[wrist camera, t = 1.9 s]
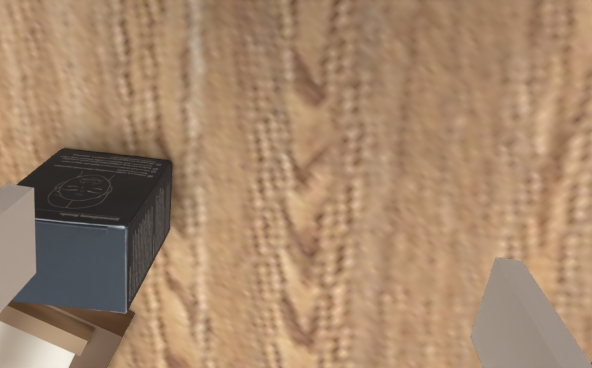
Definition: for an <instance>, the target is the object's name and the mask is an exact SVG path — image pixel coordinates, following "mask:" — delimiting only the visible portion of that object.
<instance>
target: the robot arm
mask: <svg viewBox="0 0 592 368" xmlns="http://www.w3.org/2000/svg"><path fill="white" fill-rule="evenodd" d="M35 274H36V246H35V208H34V188H32V187H25V186H19V185H12V184H5V185H4V186H3V187H1V188H0V312H1V311H2V310H3V309H4V308H5V307H6V306H7V305H8V304H9V302H10V301H11V300H12V299H13V298H14V297H15V296H16V295H17V294H18V292H19V291H20V290H21V289H22V288H23V287H24V286H25V285H26V284H27V282H28V281H29V280H30V279H31V278H32V277H33V276H34V275H35ZM470 337H471V339H472V342H473V344H474V347H475V349H476V352H477V354H478V357H479V359H480V362H481V364H482V367H483V368H592V363H590V361H589V360H588V358H587V357H586V355H585V354H584V352H583V351H582V349H581V348H580V346H579V345H578V343H577V342H576V340H575V339H574V337H573V336H572V334H571V333H570V331H569V330H568V328H567V327H566V325H565V324H564V322H563V321H562V320H561V318H560V317H559V315H558V314H557V312H556V311H555V309H554V308H553V306H552V305H551V303H550V302H549V300H548V299H547V297H546V296H545V294H544V293H543V291H542V290H541V288H540V287H539V285H538V284H537V282H536V281H535V279H534V278H533V276H532V275H531V273H530V272H529V271H528V269H527V268H526V266H525V265H524V263H523V262H522V261H518V260H511V259H505V258H498V257H496V258H495V261H494V264H493V267H492V270H491V273H490V277H489V280H488V283H487V286H486V289H485V292H484V295H483V299H482V302H481V305H480V308H479V311H478V314H477V317H476V321H475V324H474V327H473V330H472V333H471V336H470Z"/></svg>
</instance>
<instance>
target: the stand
mask: <svg viewBox="0 0 592 368" xmlns="http://www.w3.org/2000/svg"><path fill="white" fill-rule="evenodd" d="M134 314H135V313H133V312H131V311H129V310H128V311H127V313H118V312H110V311H100V310H90V309H81V308H72V307H61V306H52V305H42V304H32V303H23V302H14V301H10V302H9V304H8V305H7V306H6V307H5V308H4V309H3V310H2V311H1V312H0V368H107V366H108V364H109V362H110V360H111V358H112V356H113V354H114V352H115V351H116V349H117V347H118V345H119V343H120V341H121V339H122V337H123V335H124V333H125V331H126V329H127V327H128V325H129V323H130V321H131V320H132V318H133V316H134Z"/></svg>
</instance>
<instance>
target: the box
mask: <svg viewBox="0 0 592 368" xmlns="http://www.w3.org/2000/svg"><path fill="white" fill-rule="evenodd" d="M171 177H172V163H171V162H170V161H166V160H158V159H149V158H140V157H132V156H122V155H113V154H105V153H95V152H86V151H77V150H67V149H61V150H59V151H58V152H57V153H56V154H54V155H53V156H52V157H51V158H49V159H48V160H47V161H46V162H44V163H43V164H42V165H41V166H39V167H38V168H37V169H36V170H35V171H33V172H32V173H31V174H29V175H28V176H27V177H26V178H24V179H23V180H22V181H20V182H19V183H18V184H17V185H19V186H25V187H32V188H34V208H35V246H36V274H35V275H34V276H33V277H32V278H31V279H30V280H29V281H28V282H27V284H26V285H25V286H24V287H23V288H22V289H21V290H20V291H19V292H18V294H17V295H16V296H15V297H14V298H13V299H12V300H11V301H14V302H23V303H32V304H42V305H52V306H61V307H72V308H81V309H90V310H100V311H110V312H118V313H127V311H128V309H129V307H130V305H131V303H132V301H133V299H134V297H135V296H136V294H137V292H138V290H139V288H140V286H141V284H142V282H143V281H144V279H145V277H146V275H147V273H148V271H149V269H150V267H151V265H152V263H153V261H154V260H155V257H156V255H157V254H158V252H159V250H160V248H161V246H162V244H163V243H164V241H165V239H166V237H167V235H168V233H169V230H170V207H171Z"/></svg>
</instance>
